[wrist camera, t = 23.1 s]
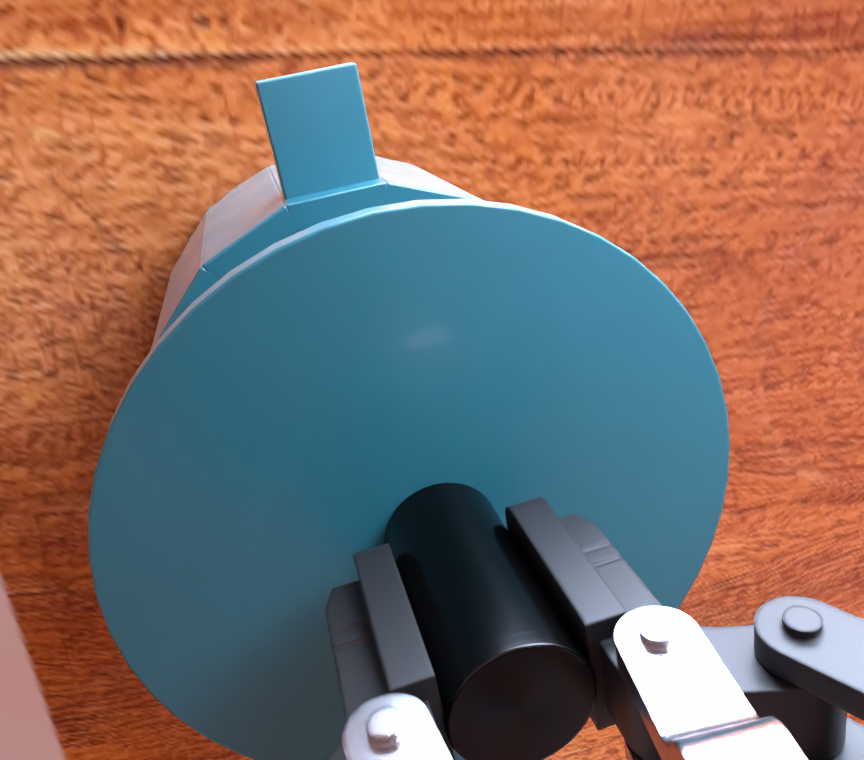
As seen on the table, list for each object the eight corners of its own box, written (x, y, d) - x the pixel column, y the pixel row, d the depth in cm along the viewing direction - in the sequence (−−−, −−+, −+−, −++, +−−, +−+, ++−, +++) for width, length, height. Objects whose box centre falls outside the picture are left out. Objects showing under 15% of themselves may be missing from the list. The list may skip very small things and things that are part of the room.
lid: (212, 811, 18) (208, 1114, 13) (-22, 290, 13) (-198, 448, 7) (708, 638, 20) (879, 838, 15) (692, 125, 15) (954, 157, 10)
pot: (245, 564, 31) (252, 726, 23) (85, 110, 23) (20, 130, 16) (528, 479, 33) (621, 603, 25) (464, 34, 25) (567, 20, 18)
